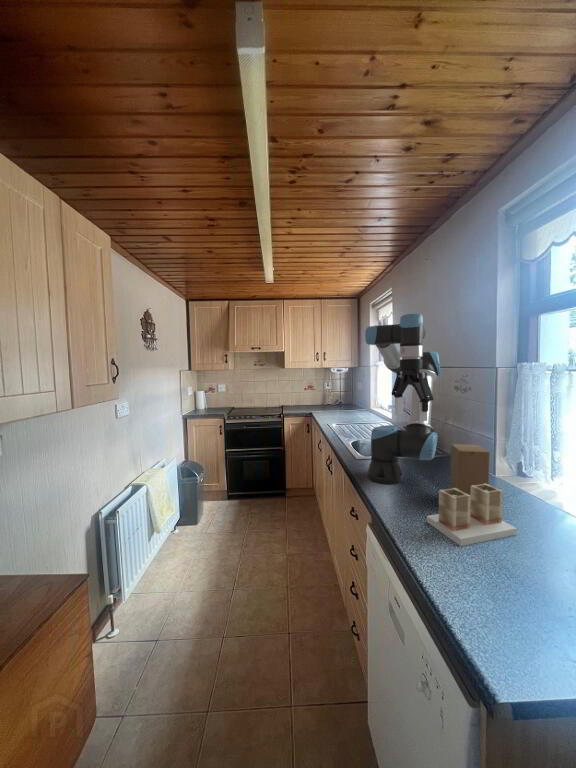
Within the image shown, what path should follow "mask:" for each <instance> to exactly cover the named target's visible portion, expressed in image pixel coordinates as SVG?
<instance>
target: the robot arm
mask: <svg viewBox="0 0 576 768" xmlns="http://www.w3.org/2000/svg"><path fill="white" fill-rule="evenodd" d="M364 333H365V334H364V338H365V339H364V340H365V343H366V345H368V346H375V347H376V349H377V350H378V351H379V354H380V355H381V356H382V358H383V363H384V365H385V367H386V368H387V370H390V371H391V372H393V373H394V374H396V377H395V381H394V383H393V386H392V391H391V396H394V398H395V399H394V401H395V403H394V406H395V415H396V416H403V414H404V396H403V395H404V393H405V391H406V389H407V387H408V386H409V385H410V386H412V390H411V391H412V392H411V399H410V400H411V402H410V410H409V422H408V423H407V424H406V425H405V426H404V429H400V428H399V426H398V425H393V424H392V425H391V424H389V425H380V426H376V427H373V428H372V429H371V434H370V435H371V436H370V457H371V458H370V463H369V466H368V469H367V470H366V472H367V473H366V476H367V479H368V480H369V481H372V482H374V483H376V484H377V483H378V484H383V485H395V484H400V483H402V481H404V480H403V477H404V476H403V472H402V469H401V466H400V462H399V458H404V459H411V460H412V459H413V460H420V461H431V460H433V459H434V458H435V454H436V451H437V447H438V446H437V444H438V433H437V432H435V428H433V426H432V425H431V424H432V423H431V421H432V420H431V419H432V406H433V405H432V404H433V401H434V396H433V390H434V389H433V387H434V382H435V381H436V380H437V378H438V377H439V376H440V375H441V365H440V356H439V353H438V352H436V351H429V350H427V351H424V350H423V349H424V348H423V340H424V339H425V338H426V333H427V332H426V328H425V326H424V319H423V314H421V313H406V314H403V315H401V316H400V318H399V323H398V324H396V323H395V324H382V325H371V326H367V327H366V329H365V331H364ZM398 344H399V348H398V346H397V345H398Z"/></svg>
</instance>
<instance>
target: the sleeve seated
mask: <svg viewBox="0 0 576 768" xmlns="http://www.w3.org/2000/svg"><path fill="white" fill-rule="evenodd" d="M485 490H488V491H485ZM503 494H504V490H502V489H499V488H497V487H496V486H493V485H491V484H489V485H488V484H479V485H472V486H471V506H470V516H471V517H473V518H474V519H476V520H478V521H480V522H481V523H483V524H485V525H490V524H495V523H501V522H502V521H503V497H504V495H503Z"/></svg>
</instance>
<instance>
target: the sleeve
mask: <svg viewBox="0 0 576 768" xmlns="http://www.w3.org/2000/svg"><path fill="white" fill-rule="evenodd" d="M452 495H457V496H452ZM470 506H471V496H470V495H468V494H466V493H464V492H462V491H460V490H458V489H456V488H451V489H450V488H445V489H439V490H438V514H439V522H440V523H442V524H443V525H445V526H446V527H448V528H449V529H451V530H452V531H458V530H463V529H469V528H470Z"/></svg>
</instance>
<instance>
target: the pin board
mask: <svg viewBox="0 0 576 768" xmlns="http://www.w3.org/2000/svg"><path fill="white" fill-rule="evenodd" d="M485 491H488V490H485ZM452 496H457V495H452ZM426 522H427V523H428V524H429V525H430V526H432V527H433V528H435V529H436V530H437V531H439V532H440V533H442V534H443V535H445V536H446V537H447V538H448V539H450V540H452V541H453V542H454V543H456V544H457V545H458V546H460V547H462V546H468V545H474V544H477V543H483V542H487V541H492V540H498V539H503V538H507V537H508V538H509V537H513V536H517V534H518V531H517V530H518V528H517V527H515V526H513V525H512V524H509V523H508V522H505V521H503V520H502V522H501V523H495V524H490V525H485V524H483V523H481V522H480V521H478V520H476V519H474V518H473V517H471V516H470V528H469V529H463V530H458V531H452V530H451V529H449V528H448V527H446V526H445V525H443V524H442V523H440V522H439V513H436V514H431V515H429V514H428V515H427V516H426Z"/></svg>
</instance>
